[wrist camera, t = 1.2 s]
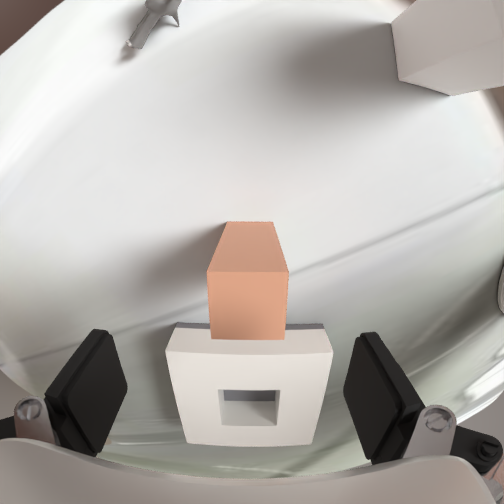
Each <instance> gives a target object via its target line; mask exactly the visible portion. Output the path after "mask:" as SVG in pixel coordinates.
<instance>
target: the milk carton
mask: <svg viewBox="0 0 504 504" xmlns="http://www.w3.org/2000/svg"><path fill="white" fill-rule="evenodd" d="M391 27H392V33H393V39H394V46H395V54H396V62H397V71H398V79H399V80H400V81H403V82H407V83H411V84H415V85H419V86H422V87H426V88H429V89H432V90H436V91H439V92H442V93H445V94H448V95H451V96H455V95H460V94H464V93H469V92H473V91H478V90H483V89H489V88H494V87H500V86H504V0H416V1H415V2H414V3H413V4H412V5H411V6H409V7H408V8H407V9H406V10H405V11H404V12H402V13H401V14H400V15H399V16H398V17H397V18H396V19H394V20H393V21H392V22H391Z"/></svg>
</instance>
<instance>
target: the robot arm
mask: <svg viewBox="0 0 504 504" xmlns="http://www.w3.org/2000/svg"><path fill="white" fill-rule="evenodd" d="M498 304H499V308H500V310H501V311H502V312H503V313H504V267H503V270H502V273H501V277H500V281H499V286H498ZM126 393H127V382H126V379H125V376H124V373H123V370H122V367H121V364H120V361H119V357H118V354H117V350H116V347H115V343H114V340H113V337H112V335H111V334H109V332H108V331H106V330H99V329H93V330H92V331H91V332H90V333H89V335H88V336H87V337H86V339H85V340H84V341H83V342H82V344H81V345H80V346H79V348H78V349H77V350H76V351H75V353H74V354H73V355H72V357H71V358H70V359H69V361H68V362H67V363H66V365H65V366H64V367H63V369H62V370H61V371H60V373H59V374H58V375H57V377H56V378H55V380H54V381H53V382H52V384H51V385H50V387H49V388H48V389H47V391H46V392H45V396H46V397H45V399H44V400H43V399H42V398H40V397H38V396H28V397H25V398H23V399H22V400H20V401H19V402H18V403H17V404H16V406H15V408H14V416H12V417H9V418H5V419H2V420H0V504H504V454H503V449H502V445H501V443H500V442H499V441H498V440H497V439H496V438H494V437H492V436H490V435H486V434H482V433H479V432H476V431H473V430H469V429H466V428H463V427H460V426H457V425H456V417H455V415H454V413H453V412H452V411H451V410H450V409H448V408H447V407H444V406H442V405H430V406H428V407H425V405H424V404H423V402H422V400H421V399H420V397H419V396H418V394H417V392H416V391H415V389H414V388H413V386H412V384H411V383H410V381H409V380H408V378H407V376H406V375H405V373H404V372H403V370H402V369H401V367H400V366H399V364H398V363H397V362H396V361H395V359H394V358H393V356H392V355H391V353H390V352H389V350H388V349H387V347H386V346H385V344H384V343H383V341H382V340H381V338H380V337H379V335H378V334H377V333H376V332H368V333H361V335H360V337H357V338H356V340H355V344H354V348H353V353H352V357H351V361H350V365H349V369H348V373H347V376H346V380H345V384H344V388H343V393H344V397H345V400H346V403H347V406H348V408H349V411H350V414H351V417H352V419H353V422H354V425H355V428H356V431H357V434H358V436H359V439H360V442H361V445H362V448H363V451H364V454H365V457H366V459H368V460H369V459H371V462H372V465H371V466H366V467H361V468H356V469H350V470H344V471H338V472H332V473H325V474H317V475H309V476H299V477H286V478H266V479H230V478H210V477H197V476H187V475H179V474H171V473H164V472H158V471H152V470H146V469H141V468H136V467H131V466H127V465H122V464H118V463H114V462H110V461H106V460H103V459H99V458H96V455H97V453H100V452H101V451H102V449H103V446H104V444H105V442H106V439H107V437H108V434H109V432H110V430H111V427H112V425H113V422H114V420H115V418H116V415H117V413H118V411H119V409H120V406H121V404H122V402H123V400H124V397H125V395H126Z"/></svg>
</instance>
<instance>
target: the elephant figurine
mask: <svg viewBox="0 0 504 504" xmlns="http://www.w3.org/2000/svg"><path fill="white" fill-rule="evenodd" d="M181 1H182V0H146V2H145V6H146V7H147V8H148V12H147V13H146V15H145V17H144V18H143V19H142V21H141V22H140V23H139V24H138V26H137V28H136V30H135V32H134V33H133V35H132V36H131V38H130V39H129V40H127V41H126V43H128V46H130V47H134V48H138V49H142V47H143V46H144V44H145V42H146V39H147V37H148V35H149V33H150V31H151V29H152V28H153V27H154V26H155V24H156V23H157V21H158V20H159V18H160V17H161V16H164V15H169V16H173V18H174V19H175V20H176V22H177V24H178V26H179V21H178V14H177V9H178V6H179V5H180V3H181Z"/></svg>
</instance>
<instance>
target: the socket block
mask: <svg viewBox="0 0 504 504" xmlns="http://www.w3.org/2000/svg"><path fill="white" fill-rule="evenodd" d="M165 353H166V358H167V363H168V368H169V372H170V377H171V381H172V386H173V390H174V395H175V399H176V403H177V407H178V411H179V415H180V419H181V422H182V426H183V430H184V433H185V437H186V440H187V443H193V444H204V445H217V446H240V447H272V446H295V445H308V444H312V440H313V437H314V433H315V429H316V426H317V422H318V418H319V414H320V411H321V407H322V403H323V398H324V394H325V390H326V386H327V381H328V377H329V372H330V367H331V363H332V358H333V353H334V352H333V350H332V347H331V344H330V342H329V339H328V337H327V334H326V331H325V329H324V326H323V324H296V325H285V338H284V340H222V339H211V331H210V324H199V323H178V322H177V324H176V327H175V329H174V331H173V334H172V336H171V338H170V341H169V343H168V345H167V348H166V350H165Z"/></svg>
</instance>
